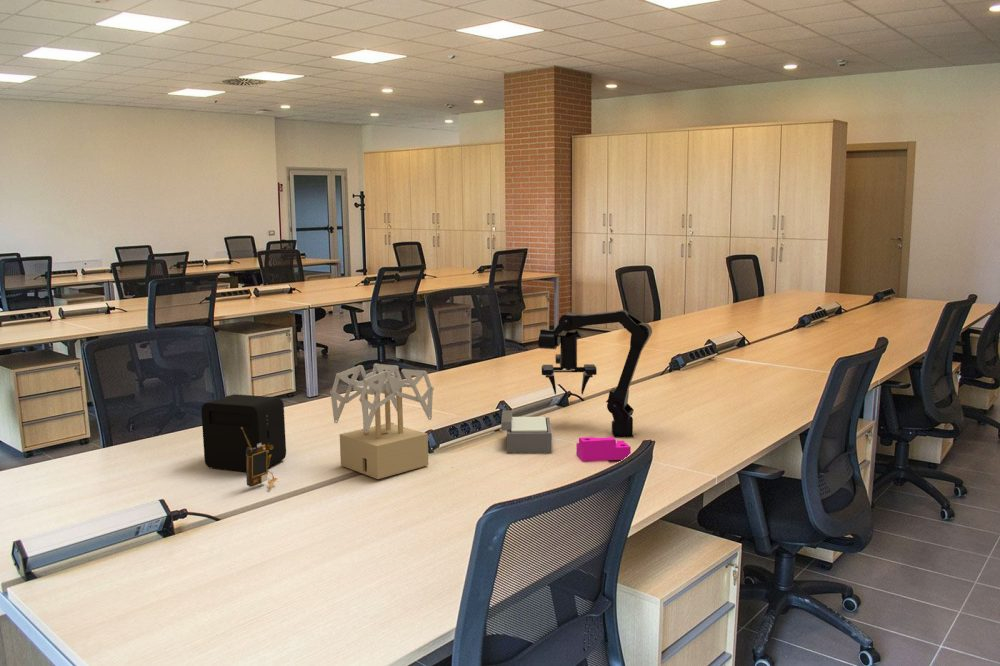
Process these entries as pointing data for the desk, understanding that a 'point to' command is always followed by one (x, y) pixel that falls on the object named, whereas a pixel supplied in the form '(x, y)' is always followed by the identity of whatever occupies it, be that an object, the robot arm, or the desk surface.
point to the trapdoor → (522, 423)
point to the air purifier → (227, 437)
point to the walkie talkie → (258, 464)
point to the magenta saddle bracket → (601, 449)
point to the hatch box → (530, 441)
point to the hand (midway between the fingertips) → (568, 394)
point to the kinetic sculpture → (387, 443)
